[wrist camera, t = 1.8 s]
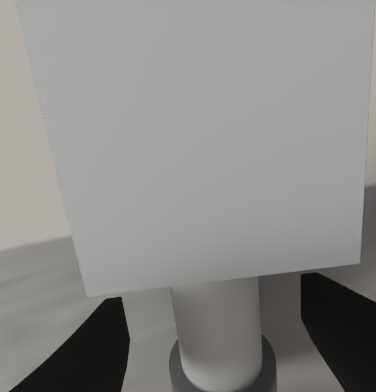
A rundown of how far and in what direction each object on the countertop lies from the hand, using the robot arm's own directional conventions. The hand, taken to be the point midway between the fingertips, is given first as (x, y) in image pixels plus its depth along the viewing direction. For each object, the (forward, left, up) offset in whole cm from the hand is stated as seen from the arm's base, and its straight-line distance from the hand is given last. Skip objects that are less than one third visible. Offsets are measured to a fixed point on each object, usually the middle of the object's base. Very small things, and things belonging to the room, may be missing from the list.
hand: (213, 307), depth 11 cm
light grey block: (0, -8, -3) cm, 8 cm away
